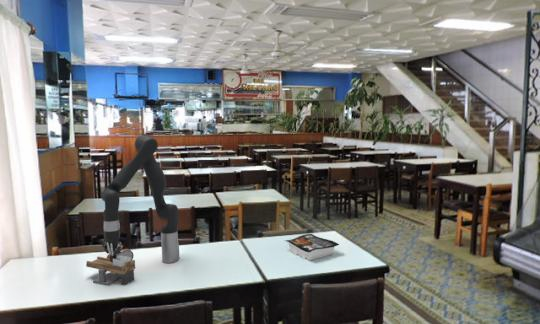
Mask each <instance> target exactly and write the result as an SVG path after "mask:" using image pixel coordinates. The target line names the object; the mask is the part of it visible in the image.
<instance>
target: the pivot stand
mask: <svg viewBox="0 0 540 324" xmlns="http://www.w3.org/2000/svg"><path fill="white" fill-rule="evenodd" d="M119 281H120V285H125V286H128V285H129V284H131V283H132V282H134V281H135V269H133V270H131V271H129V272H128V273H126V274H124V275H123V274H119V273H114V272H108V273H107V272H106V270H105V269H98V278H96V279H93V280H92V283H94V284H97V285H102V286H106V287H109V286H111V285H112V284H115V283H117V282H119Z"/></svg>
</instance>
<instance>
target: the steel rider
mask: <svg viewBox="0 0 540 324" xmlns="http://www.w3.org/2000/svg"><path fill="white" fill-rule="evenodd" d="M130 261H131V257H127V256H122V255H120V256H117V257H115V258H113V266H115V267H120V268H122V265H124V264H126V263H128V262H130Z"/></svg>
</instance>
